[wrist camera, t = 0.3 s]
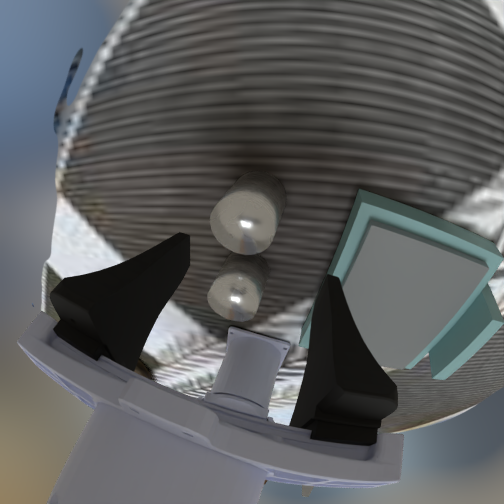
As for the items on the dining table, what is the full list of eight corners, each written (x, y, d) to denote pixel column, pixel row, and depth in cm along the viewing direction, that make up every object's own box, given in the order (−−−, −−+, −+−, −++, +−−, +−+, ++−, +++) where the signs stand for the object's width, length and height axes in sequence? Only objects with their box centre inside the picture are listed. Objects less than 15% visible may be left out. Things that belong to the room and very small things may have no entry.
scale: (422, 355, 28) (426, 395, 24) (301, 329, 30) (292, 373, 26) (507, 249, 17) (531, 291, 12) (359, 188, 19) (366, 228, 15)
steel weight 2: (265, 289, 28) (252, 326, 24) (224, 277, 29) (207, 312, 25) (273, 257, 25) (260, 294, 22) (227, 244, 26) (207, 278, 22)
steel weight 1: (280, 226, 23) (268, 261, 19) (230, 213, 24) (208, 245, 20) (291, 178, 20) (280, 206, 17) (236, 165, 21) (211, 190, 17)
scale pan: (402, 364, 26) (402, 369, 26) (309, 344, 28) (308, 350, 27) (486, 262, 16) (489, 268, 16) (370, 219, 18) (371, 225, 17)
